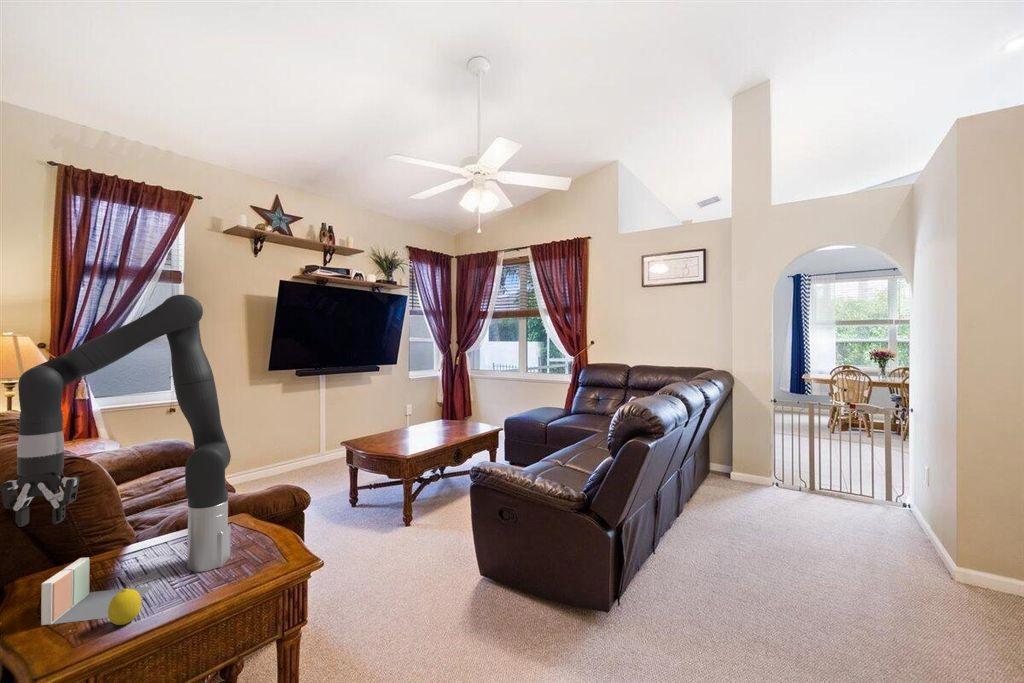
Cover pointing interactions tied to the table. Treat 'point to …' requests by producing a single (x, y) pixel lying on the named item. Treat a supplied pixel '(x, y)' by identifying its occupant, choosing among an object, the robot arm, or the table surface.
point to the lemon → (124, 607)
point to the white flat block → (79, 579)
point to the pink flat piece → (56, 597)
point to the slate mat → (94, 606)
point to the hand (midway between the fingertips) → (40, 523)
